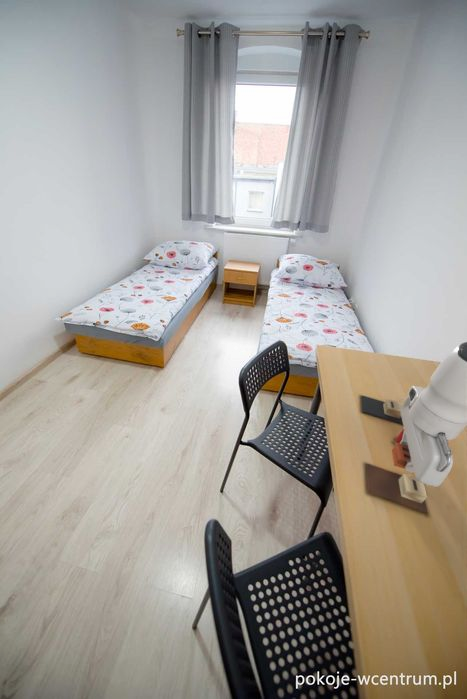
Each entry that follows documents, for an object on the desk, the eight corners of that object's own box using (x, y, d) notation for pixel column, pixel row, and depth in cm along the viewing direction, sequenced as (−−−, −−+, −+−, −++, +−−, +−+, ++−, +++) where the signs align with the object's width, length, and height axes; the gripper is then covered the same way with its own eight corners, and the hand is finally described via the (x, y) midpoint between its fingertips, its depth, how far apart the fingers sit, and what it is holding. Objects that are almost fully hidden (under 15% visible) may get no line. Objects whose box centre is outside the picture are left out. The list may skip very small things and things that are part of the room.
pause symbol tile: (411, 456, 65) (417, 448, 63) (415, 472, 61) (422, 465, 59) (391, 449, 66) (396, 442, 64) (394, 465, 62) (399, 458, 60)
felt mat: (414, 412, 92) (415, 410, 92) (419, 430, 86) (420, 428, 85) (361, 396, 95) (361, 395, 95) (362, 412, 89) (363, 411, 89)
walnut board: (419, 482, 70) (420, 481, 70) (426, 513, 64) (427, 512, 64) (366, 464, 73) (366, 463, 73) (368, 492, 67) (369, 491, 66)
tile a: (417, 486, 69) (423, 480, 67) (421, 503, 65) (427, 497, 64) (398, 479, 70) (403, 473, 68) (401, 496, 66) (406, 490, 65)
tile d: (397, 409, 91) (401, 402, 90) (399, 418, 88) (403, 412, 86) (383, 404, 92) (386, 398, 91) (384, 414, 89) (388, 407, 87)
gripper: (474, 466, 46) (432, 507, 54) (440, 389, 62) (411, 429, 70) (432, 453, 47) (397, 495, 55) (410, 381, 64) (385, 421, 71)
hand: (405, 457), depth 63 cm, fingers closed on pause symbol tile, 4 cm apart
